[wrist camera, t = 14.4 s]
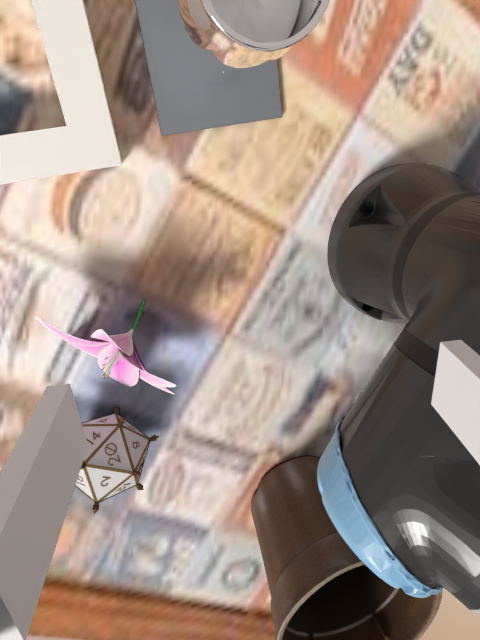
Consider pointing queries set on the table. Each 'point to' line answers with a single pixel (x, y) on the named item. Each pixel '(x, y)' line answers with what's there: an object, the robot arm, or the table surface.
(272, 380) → the table surface
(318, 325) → the table surface
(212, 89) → the slate coaster
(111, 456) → the game die
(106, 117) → the board
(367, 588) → the plant pot
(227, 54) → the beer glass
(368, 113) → the table surface
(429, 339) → the robot arm
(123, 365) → the lily
